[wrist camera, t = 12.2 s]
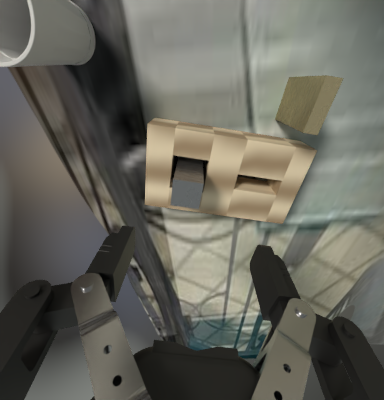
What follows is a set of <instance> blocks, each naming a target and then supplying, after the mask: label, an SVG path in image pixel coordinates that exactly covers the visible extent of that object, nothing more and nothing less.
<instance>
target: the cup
mask: <svg viewBox="0 0 384 400" xmlns="http://www.w3.org/2000/svg"><path fill="white" fill-rule="evenodd" d="M94 50H95V33H94V29H93V27H92V24H91V22H90V20H89V18H88V17H87V15H86V14H85V13H84V11H83V10H82V9H81V8H80V7H79V6H77V5H76V4H74V3H73V2H71V1H70V0H0V67H17V66H39V65H82V64H85V63H86V62H88V61H89V60H90V59H91V57H92V55H93V53H94Z"/></svg>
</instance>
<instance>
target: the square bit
mask: <svg viewBox="0 0 384 400" xmlns="http://www.w3.org/2000/svg"><path fill="white" fill-rule="evenodd" d="M203 185H204V177H203V160H201V159H195V158H188V157H182V156H179V159H178V163H177V167H176V170H175V174H174V178H173V185H172V195H171V204H170V205H172V206H179V207H186V208H193V209H199V206H200V201H201V196H202V190H203Z"/></svg>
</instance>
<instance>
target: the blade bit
mask: <svg viewBox="0 0 384 400" xmlns="http://www.w3.org/2000/svg"><path fill="white" fill-rule="evenodd" d="M342 80H343V78H338V77H333V76H327V75H326V76H305V77H289V80H288V82H287V85H286V88H285V91H284V94H283V97H282V100H281V103H280V106H279V109H278V112H277V115H276V118H275V119H276V120H278V121H280V122H282V123H284V124H286V125H288V126H290V127H292V128H294V129H296V130H298V131H300V132H302V133H307V134H313V135H318V133H319V131H320V129H321V127H322V124H323V122H324V120H325V118H326V116H327V113H328V111H329V109H330V107H331V105H332V102H333V100H334V98H335V96H336V94H337V91H338V89H339V87H340V85H341V83H342Z"/></svg>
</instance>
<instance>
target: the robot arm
mask: <svg viewBox="0 0 384 400" xmlns="http://www.w3.org/2000/svg"><path fill="white" fill-rule="evenodd" d="M134 249H135V227H129V226H122V227H121V229H120V231H119V233H112V234H110V235H109V236H108V237H107V238H106V239H105V240H104V242H103V244H102V246H101V247H100V249H99V251H98V252H97V254H96V256H95V258H94V259H93V261H92V263H91V264H90V266H89V268H88V270H87V271H86V273H85V274H83V275H81V276H79V277H78V278H77V279H75V280H74V282H71V283H67V284H61V285H55V286H51V284H50V283H49V282H48V281H45V280H35V281H32V282H29V283H27V284H26V285H24V286H23V287H21V288H20V289H19V290H18V291H17V292H16V293H15V295H14V296H13V297H12V299H11V300H10V301H9V302H8V304H7V305H6V306H5V308H4V309H3V310H2V312H1V313H0V400H24V399H25V397H26V394H27V392H28V391H29V388H30V387H31V384H32V382H33V380H34V378H35V376H36V374H37V372H38V370H39V368H40V366H41V364H42V362H43V360H44V358H45V356H46V354H47V352H48V350H49V348H50V346H51V344H52V342H53V340H54V338H55V336H56V334H57V332H58V330H59V329H64V328H68V327H72V326H77V325H79V330H80V335H81V340H82V344H83V348H84V353H85V357H86V361H87V366H88V370H89V375H90V379H91V383H92V388H93V392H94V397H93V398H92V399H91V400H302V399H303V394H304V390H305V386H306V381H307V377H308V372H309V368H310V364H311V360H312V363H313V366H314V368H315V371H316V374H317V377H318V380H319V383H320V386H321V389H322V392H323V394H324V397H325V400H384V369H383V367H382V365H381V364H380V362H379V360H378V359H377V357H376V355H375V354H374V352H373V350H372V348H371V347H370V345H369V343H368V342H367V340H366V338H365V336H364V335H363V333H362V332H361V330H360V329H359V328H358V327H357V326H356V325H355V324H354V323H353V322H352V321H350V320H348V319H346V318H344V317H335V318H334V319H333V320H329V319H327V318H325V317H322V316H320V315H318V314H316V313H315V312H314V311H313V309H312V308H311V307H310V305H308V304H307V303H306V302H305V301H303V300H301V299H300V296H299V294H298V292H297V290H296V288H295V285H294V283H293V281H292V279H291V277H290V275H289V272H288V271H287V268H286V266H285V264H284V262H283V261H282V259H281V258H280V257H279V256H278V255H274V252H273V250H272V248H271V247H270V246H265V245H258V246H257V247H256V250H255V252H254V254H253V256H252V259H251V261H250V271H251V275H252V279H253V283H254V286H255V290H256V294H257V298H258V302H259V305H260V309H261V313H262V317H263V320H268V321H271V324H272V326H271V327H270V329H269V332H268V334H267V336H266V338H265V341H264V343H263V345H262V347H261V350H260V352H259V354H258V356H257V358H256V360H255V362H254V363H253V365H251V364H250V363H249V362H247V361H246V360H244V359H243V358H241V357H239V356H238V351H237V349H233V348H224V347H214V348H209V349H204V350H199V351H195V350H192V349H190V348H187V347H185V346H183V345H180V344H178V343H176V342H168V341H159V340H154V344H153V346H152V347H148V348H145V349H143V350H141V351H139V352H137V353H136V354H134V355H133V354H132V351H131V348H130V346H129V343H128V341H127V338H126V336H125V333H124V330H123V328H122V325H121V322H120V320H119V317H118V315H117V313H116V311H114V309H113V307H112V304H111V302H110V301H112V302H116V299H117V296H118V293H119V291H120V288H121V285H122V283H123V280H124V278H125V275H126V272H127V270H128V267H129V264H130V262H131V259H132V256H133V253H134ZM342 362H343V363H342ZM343 364H344V365H343ZM344 366H345V367H344ZM346 371H347V372H346ZM347 373H348V374H347ZM348 375H349V376H348ZM349 377H350V378H349ZM351 382H352V383H351Z"/></svg>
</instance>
